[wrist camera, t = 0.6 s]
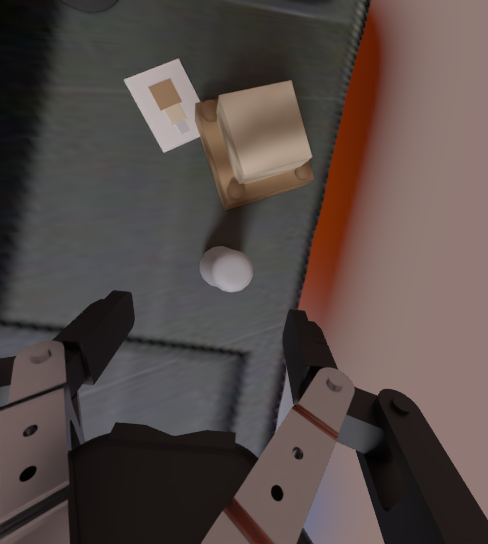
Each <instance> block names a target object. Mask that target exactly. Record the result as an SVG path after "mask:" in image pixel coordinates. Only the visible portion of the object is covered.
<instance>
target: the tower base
mask: <svg viewBox="0 0 488 544" xmlns="http://www.w3.org/2000/svg"><path fill="white" fill-rule="evenodd" d="M195 123H196V126H197V129H198V132H199V135H200V138H201V142H202V145H203V148H204V151H205V154H206V157H207V160H208V163H209V166H210V169H211V172H212V175H213V178H214V181H215V184H216V187H217V190H218V193H219V196H220V199H221V202H222V205H223V208H224V211H226V210H229V209H232V208H236V207H239V206H242V205H246V204H249V203H252V202H255V201H259V200H262V199H265V198H269V197H272V196H275V195H279V194H282V193H285V192H288V191H292V190H295V189H298V188H301V187H303V186H305V185H306V184H308V183H309V182H311V181H313V180H314V177H313V174H312V167H311V165H310V163H309V159H310V158H312V155H311V151H310V148H309V144H308V140H307V136H306V133H305V129H304V125H303V122H302V118H301V114H300V111H299V107H298V103H297V100H296V96H295V92H294V89H293V85H292V81H291V80H290V81H285V82H280V83H275V84H271V85H266V86H261V87H256V88H251V89H246V90H241V91H236V92H232V93H227V94H222V95H219V98H218V99H213V100H206V101H203V102H198V103H195Z"/></svg>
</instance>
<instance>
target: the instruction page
mask: <svg viewBox="0 0 488 544" xmlns="http://www.w3.org/2000/svg"><path fill="white" fill-rule="evenodd" d="M124 82H125V83H126V85H127V87H128V89H129V91H130V93H131V94H132V96H133V98H134V100H135V102H136V103H137V105H138V107H139V109H140V111H141V112H142V114H143V116H144V118H145V120H146V122H147V123H148V125H149V127H150V129H151V131H152V132H153V134H154V136H155V138H156V140H157V141H158V143H159V145H160V147H161V149H162V151H163V152H164V153H165V152H167V151H169V150H172V149H174V148H176V147H178V146H180V145H183V144H185V143H187V142H189V141H191V140H194V139H196V138H198V137H200V135H199V132H198V129H197V126H196V123H195V103H198V102H200V100H199V98H198V96H197V94H196V92H195V90H194V88H193V86H192V84H191V82H190V80H189V78H188V76H187V74H186V72H185V70H184V68H183V66H182V64H181V62H180V60H179V59H176V60H173V61H171V62H168V63H166V64H163V65H160V66H158V67H155V68H153V69H150V70H147V71H145V72H142V73H140V74H137V75H134V76H132V77H129V78H127V79H124Z"/></svg>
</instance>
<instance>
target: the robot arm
mask: <svg viewBox="0 0 488 544" xmlns="http://www.w3.org/2000/svg"><path fill="white" fill-rule="evenodd" d="M62 1H63V2H64V3H66V4H68V5H69V6H71V7H73V8H76V9H78V10H81V11H86V12H99V11H103V10H106V9H108V8H110V7H111V6H113V5H114V4H115V3H116V2H117V0H62ZM134 320H135V315H134V307H133V299H132V294H131V292H126V291H117V290H114V291H112V292H111V293H110V294H109V295H108V296H107V297H106V298H105V299H100V300H98V301H96V302H94V303H92V304H90V305H89V306H88V307H87V308H86V309H85V310H84V311H83V313H81V314H80V315H79V316H78V317H76V319H74V320H73V321H72V322H71V323H70V324H69V325H68V326H67V327H66V328H65V329H64V330H63V331H62V332H60V333H59V334H58V335H57V336H56V337H55V338H54V339H53V340H52V341H44V342H40V343H37V344H34V345H32V346H30V347H28V348H26V349H24V350H23V351H22V352H20V353H19V354H18V355H17V356H14V357H7V358H0V544H313V543H312V541H311V539H310V538H309V536H308V534H307V533H306V531H305V530H304V528H303V526H304V523H305V521H306V518H307V515H308V513H309V510H310V508H311V505H312V503H313V500H314V497H315V495H316V492H317V490H318V487H319V485H320V482H321V480H322V477H323V475H324V472H325V470H326V467H327V464H328V462H329V459H330V457H331V454H332V451H333V449H334V447H335V444H336V441H337V442H339V443H341V444H343V445H346V446H348V447H350V448H352V449H355V450H356V453H357V456H358V460H359V463H360V466H361V469H362V472H363V476H364V478H365V482H366V485H367V488H368V492H369V495H370V498H371V501H372V504H373V507H374V511H375V514H376V517H377V520H378V524H379V527H380V530H381V533H382V537H383V540H384V543H385V544H488V520H487V518H486V516H485V515H484V513H483V512H482V510H481V508H480V507H479V505H478V504H477V502H476V500H475V499H474V497H473V495H472V494H471V492H470V491H469V489H468V488H467V486H466V484H465V482H464V481H463V479H462V478H461V476H460V474H459V473H458V471H457V470H456V468H455V466H454V464H453V463H452V461H451V460H450V458H449V456H448V455H447V453H446V451H445V450H444V448H443V447H442V445H441V444H440V442H439V440H438V438H437V437H436V435H435V434H434V432H433V430H432V429H431V427H430V426H429V424H428V422H427V421H426V419H425V417H424V416H423V414H422V413H421V411H420V409H419V408H418V406H417V405H416V404H415V403H414V402H413V401H412V400H411V399H410V398H408V397H407V396H406V395H404V394H402V393H401V392H398V391H396V390H392V389H383V390H381V391H380V393H379V394H378V396H377V395H374V394H372V393H369V392H366V391H363V390H361V389H358V388H356V387H354V385H353V383H352V381H351V380H350V379H349V377H348V376H346V375H345V374H344V373H343V372H341V371H339V370H338V368H337V366H336V363H335V361H334V359H333V356H332V354H331V351H330V349H329V346H328V345H327V342H326V339H325V338H324V335H323V332H322V330H321V328H320V327H319V326H318V325H317V324H316V323H315V322H312V321H308V318H307V315H306V313H305V311H302V310H293V309H290V310H289V311H288V315H287V319H286V323H285V327H284V331H283V349H284V354H285V360H286V365H287V371H288V376H289V382H290V387H291V393H292V398H293V404H295V405H294V406H293V407H292V409H291V410H290V411H289V413H288V415H287V416H286V418H285V419H284V421H283V422H282V424H281V426H280V427H279V428H278V430H277V432H276V433H275V435H274V436H273V438H272V439H271V441H270V442H269V444H268V445H267V447H266V449H265V450H264V452H263V453H262V455H261V456H260V458H258V457H256V456H255V455H254V454H253V453H252V452H251V451H250V450H248V449H247V448H245V447H243V446H242V445H240V444H237V443H235V435H236V433H233V432H221V431H210V430H205V431H200V432H195V433H189V434H184V435H179V436H172V435H169V434H167V433H164V432H162V431H159V430H157V429H154V428H152V427H149V426H147V425H140V424H129V423H117V422H116V423H115V425H114V427H113V429H112V431H111V433H108V434H105V435H101V436H98V437H96V438H93V439H91V440H89V441H87V442H85V439H84V434H83V426H82V418H81V409H80V401H79V394H78V389H79V388H80V387H81V385H82V384H87V385H94V384H95V383H96V381H97V380H98V378H99V377H100V375H101V374H102V372H103V371H104V369H105V368H106V366H107V365H108V363H109V362H110V360H111V359H112V357H113V356H114V354H115V353H116V352H117V350H118V349H119V347H120V346H121V344H122V343H123V341H124V340H125V338H126V337H127V335H128V334H129V332H130V331H131V329H132V327H133V325H134Z"/></svg>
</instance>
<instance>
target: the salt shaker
mask: <svg viewBox="0 0 488 544" xmlns="http://www.w3.org/2000/svg"><path fill="white" fill-rule="evenodd" d="M200 272H201V275H202V277H203V279H204V280H205V281H206V282H207V283H209V284H210V285H212V286H216V287H219V288H220V289H221V290H224V291H227V292H236V291H241V290H242V289H244V288H245V287H246V286H248V284H249V283H250V281H251V279H252V277H253V267H252V264H251V261H250V259H249V258H248V257H247V256H246V255H245V254H244V253H242V252H240V251H236V250H232V249H230V248H227V247H224V246H218V247H213V248H211V249H209V250H208V251H206V252H205V253H204V255H203V257H202V259H201V261H200Z"/></svg>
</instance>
